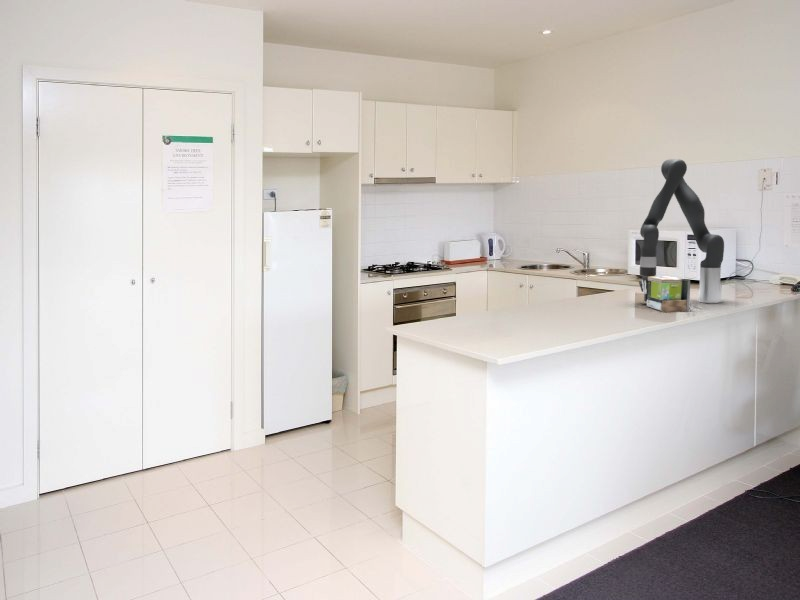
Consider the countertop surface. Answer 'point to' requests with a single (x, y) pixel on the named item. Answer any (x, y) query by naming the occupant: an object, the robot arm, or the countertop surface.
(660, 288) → the tea box
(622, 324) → the countertop surface
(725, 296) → the countertop surface
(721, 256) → the robot arm
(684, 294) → the bookend
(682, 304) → the wooden block
